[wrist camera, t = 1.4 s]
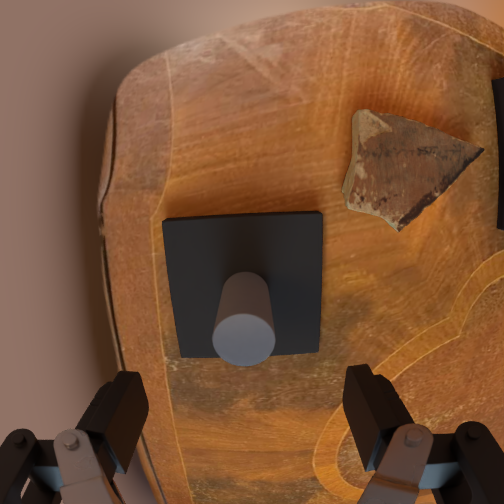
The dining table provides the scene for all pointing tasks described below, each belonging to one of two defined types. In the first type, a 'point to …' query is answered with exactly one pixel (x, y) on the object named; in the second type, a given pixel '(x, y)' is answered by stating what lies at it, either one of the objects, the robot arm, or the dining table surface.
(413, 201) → the shard
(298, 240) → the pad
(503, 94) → the base pad
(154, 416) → the dining table surface
